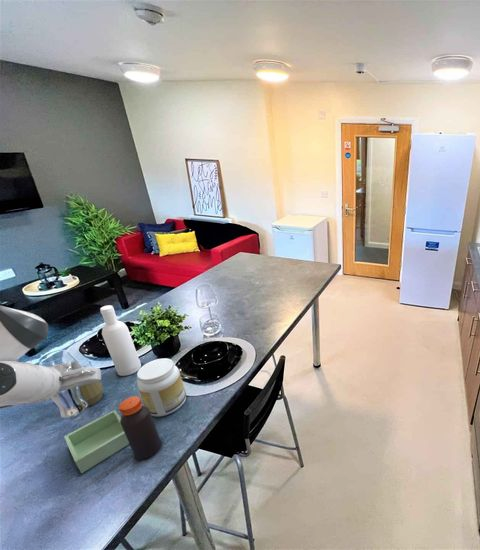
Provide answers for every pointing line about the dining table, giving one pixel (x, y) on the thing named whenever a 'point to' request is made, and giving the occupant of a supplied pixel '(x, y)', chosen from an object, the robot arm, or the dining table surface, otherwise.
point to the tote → (96, 441)
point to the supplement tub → (161, 387)
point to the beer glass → (68, 397)
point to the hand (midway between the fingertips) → (63, 387)
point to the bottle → (119, 343)
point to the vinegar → (139, 428)
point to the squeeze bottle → (89, 388)
